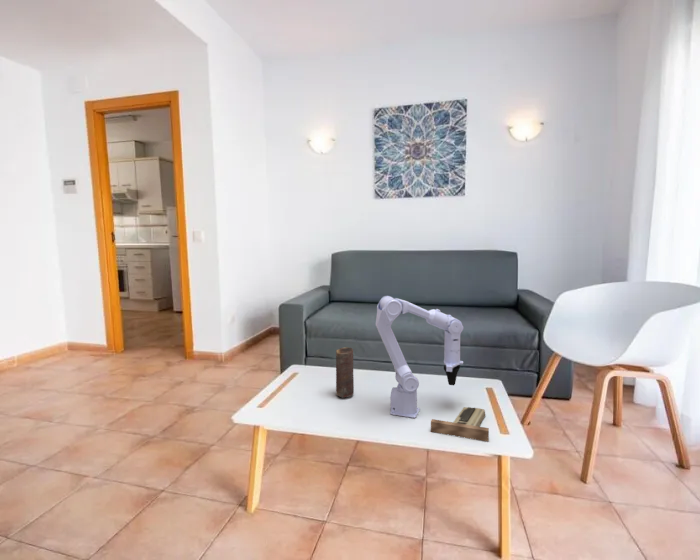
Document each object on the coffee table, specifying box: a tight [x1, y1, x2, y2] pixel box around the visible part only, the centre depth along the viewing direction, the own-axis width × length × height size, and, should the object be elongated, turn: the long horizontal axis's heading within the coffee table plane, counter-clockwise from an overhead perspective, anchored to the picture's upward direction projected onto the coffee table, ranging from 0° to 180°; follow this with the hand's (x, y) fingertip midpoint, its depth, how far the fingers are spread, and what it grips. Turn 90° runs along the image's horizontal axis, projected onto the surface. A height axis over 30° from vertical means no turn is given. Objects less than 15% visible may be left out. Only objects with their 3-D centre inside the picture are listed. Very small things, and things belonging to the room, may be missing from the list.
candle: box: [335, 346, 355, 399], centre depth 155 cm, size 8×7×20 cm
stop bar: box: [430, 418, 490, 442], centre depth 122 cm, size 18×2×4 cm, turn 67°
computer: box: [453, 406, 486, 427], centre depth 130 cm, size 16×8×3 cm, turn 148°
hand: (451, 384), depth 141 cm, fingers closed
